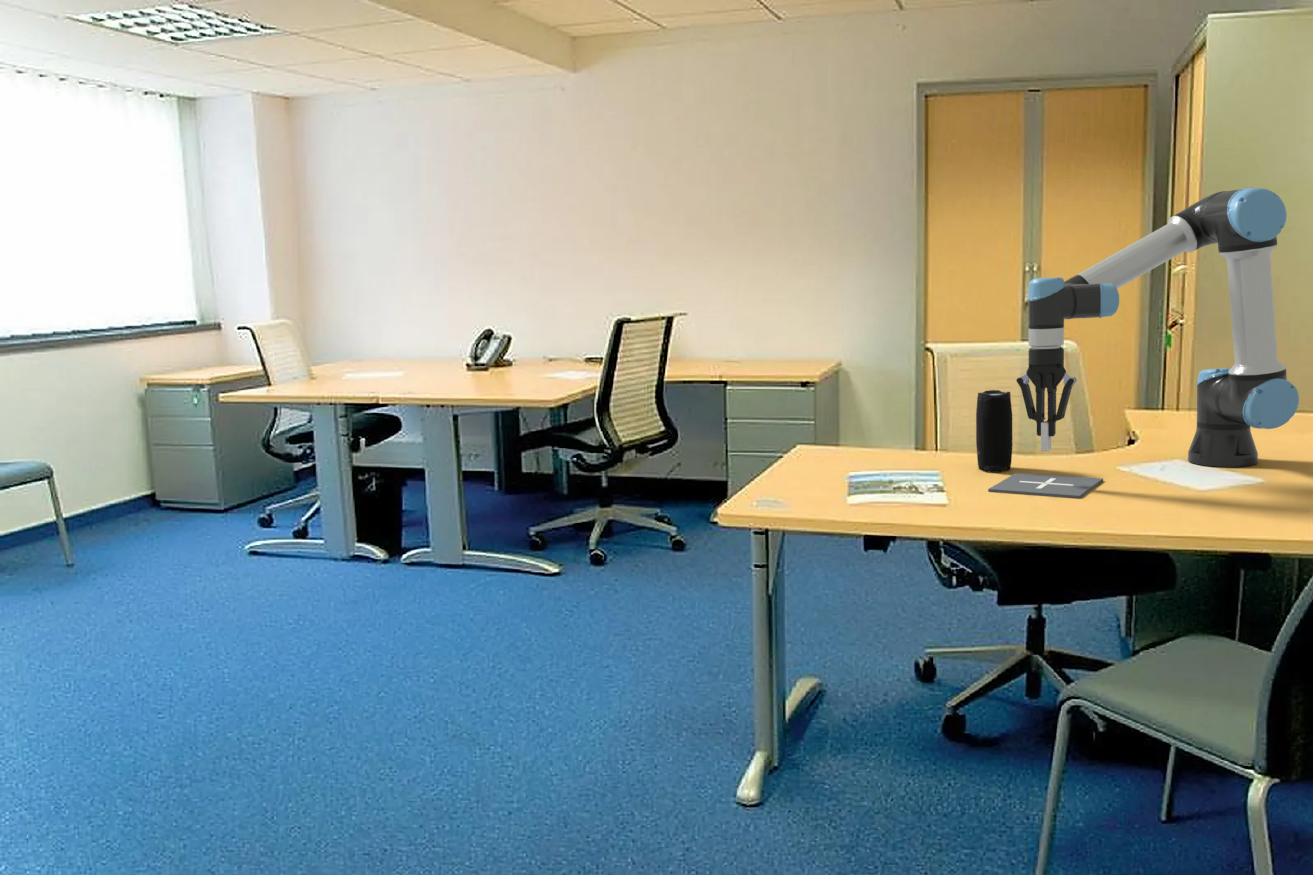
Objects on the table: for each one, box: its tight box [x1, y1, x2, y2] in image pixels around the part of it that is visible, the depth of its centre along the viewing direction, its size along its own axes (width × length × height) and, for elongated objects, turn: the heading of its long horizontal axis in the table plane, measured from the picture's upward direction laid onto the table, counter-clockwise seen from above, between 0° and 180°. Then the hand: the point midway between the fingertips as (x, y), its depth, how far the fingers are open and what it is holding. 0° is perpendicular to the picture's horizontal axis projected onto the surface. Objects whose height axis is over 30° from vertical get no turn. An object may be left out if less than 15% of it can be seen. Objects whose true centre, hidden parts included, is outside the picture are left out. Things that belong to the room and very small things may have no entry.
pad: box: [987, 472, 1104, 499], centre depth 249 cm, size 20×20×1 cm
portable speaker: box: [975, 389, 1013, 473], centre depth 270 cm, size 9×9×20 cm
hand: (1046, 450), depth 248 cm, fingers closed
